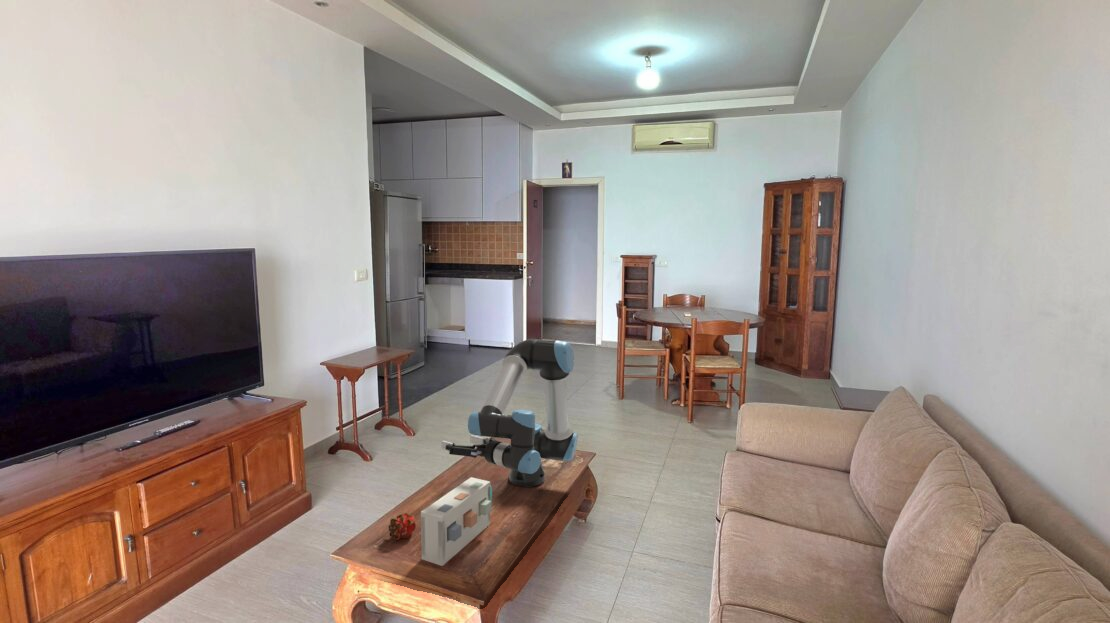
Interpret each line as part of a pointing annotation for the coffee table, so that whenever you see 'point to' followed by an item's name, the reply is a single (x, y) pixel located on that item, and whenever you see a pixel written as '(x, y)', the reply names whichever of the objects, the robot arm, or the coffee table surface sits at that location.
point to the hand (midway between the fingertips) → (456, 441)
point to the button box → (452, 520)
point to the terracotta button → (469, 519)
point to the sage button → (484, 507)
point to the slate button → (454, 531)
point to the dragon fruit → (402, 526)
